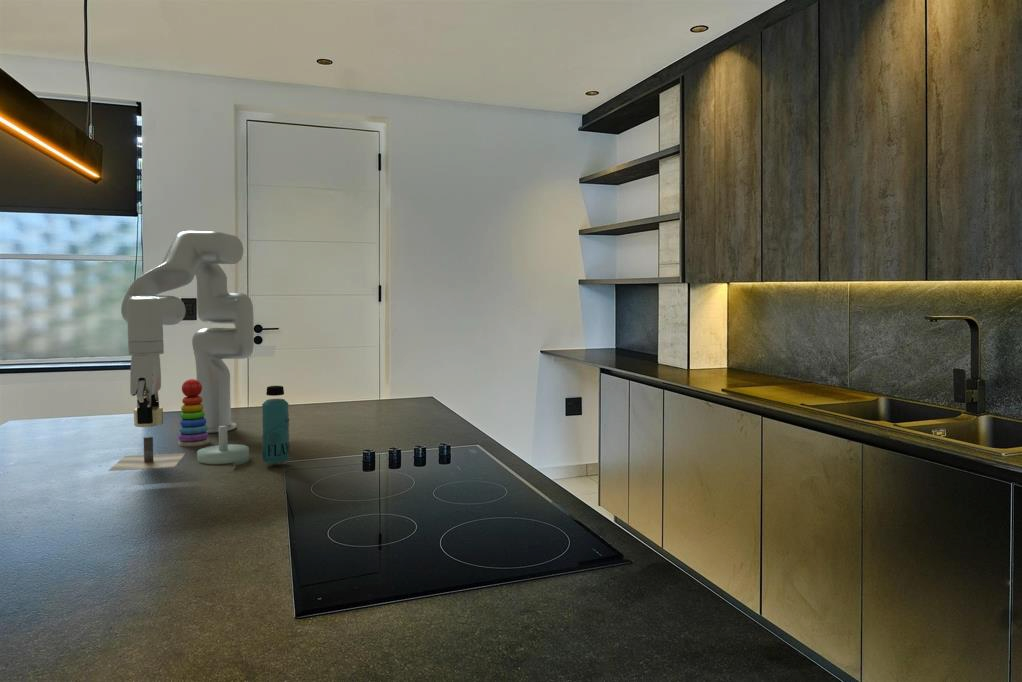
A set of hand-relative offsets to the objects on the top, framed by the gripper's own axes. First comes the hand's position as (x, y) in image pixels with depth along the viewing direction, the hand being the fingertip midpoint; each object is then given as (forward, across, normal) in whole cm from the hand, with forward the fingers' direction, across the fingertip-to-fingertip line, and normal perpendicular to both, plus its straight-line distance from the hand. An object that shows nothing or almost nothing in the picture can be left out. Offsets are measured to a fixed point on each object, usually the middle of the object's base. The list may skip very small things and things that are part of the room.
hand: (148, 419), depth 161 cm
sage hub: (+11, +1, +17) cm, 20 cm away
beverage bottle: (+11, +8, +30) cm, 33 cm away
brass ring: (+1, 0, 0) cm, 1 cm away
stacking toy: (+12, -18, +7) cm, 23 cm away
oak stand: (+11, +1, 0) cm, 11 cm away
